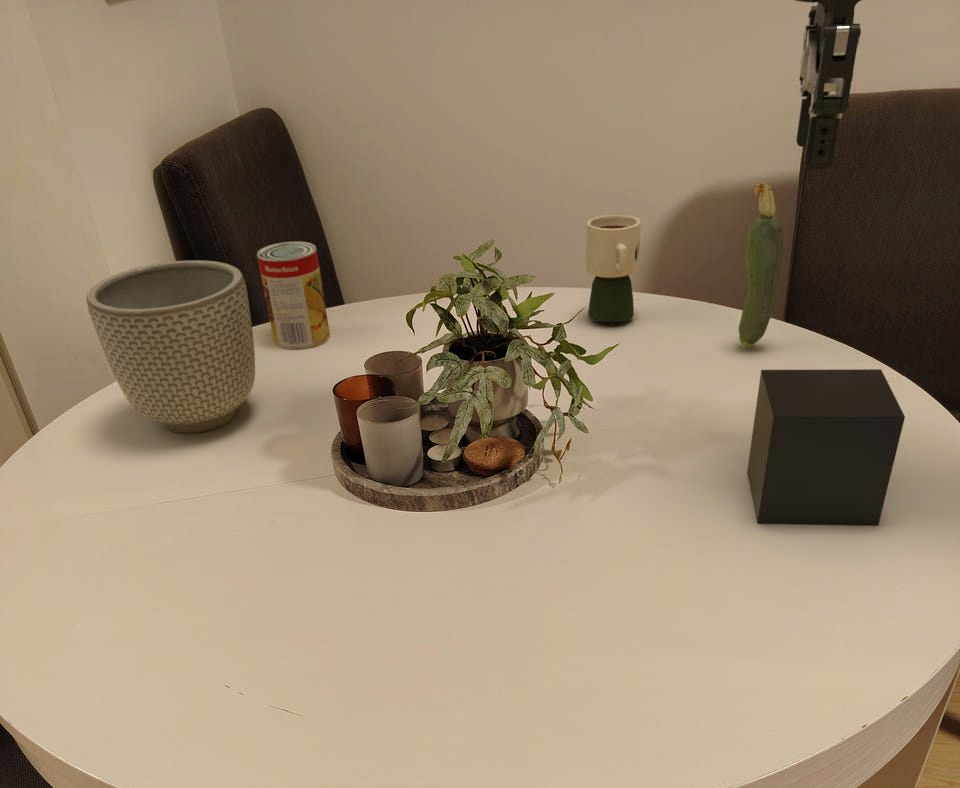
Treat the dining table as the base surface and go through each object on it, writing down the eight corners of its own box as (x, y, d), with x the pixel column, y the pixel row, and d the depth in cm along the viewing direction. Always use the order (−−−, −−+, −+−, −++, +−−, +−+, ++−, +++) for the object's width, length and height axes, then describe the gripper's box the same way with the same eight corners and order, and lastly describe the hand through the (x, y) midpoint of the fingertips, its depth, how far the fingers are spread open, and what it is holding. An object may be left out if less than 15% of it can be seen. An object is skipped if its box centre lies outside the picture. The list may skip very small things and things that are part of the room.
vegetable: (770, 344, 122) (794, 177, 110) (766, 357, 119) (790, 187, 107) (735, 342, 124) (755, 176, 111) (730, 354, 121) (750, 185, 108)
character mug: (647, 330, 128) (652, 230, 120) (595, 336, 128) (598, 236, 120) (624, 303, 137) (628, 208, 129) (576, 309, 136) (577, 213, 128)
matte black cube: (855, 464, 97) (877, 361, 90) (878, 525, 88) (905, 416, 81) (745, 463, 99) (759, 362, 92) (757, 523, 90) (773, 416, 83)
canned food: (331, 326, 136) (318, 239, 129) (328, 347, 130) (313, 257, 123) (277, 330, 136) (260, 243, 129) (271, 351, 130) (253, 261, 123)
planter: (109, 413, 117) (66, 282, 107) (239, 376, 124) (210, 249, 114) (153, 466, 105) (110, 324, 95) (294, 421, 112) (268, 285, 102)
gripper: (916, -75, 66) (868, 177, 76) (886, -84, 77) (848, 137, 87) (804, -69, 67) (772, 178, 78) (790, -79, 78) (764, 139, 88)
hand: (812, 156), depth 82 cm, fingers open, 8 cm apart
